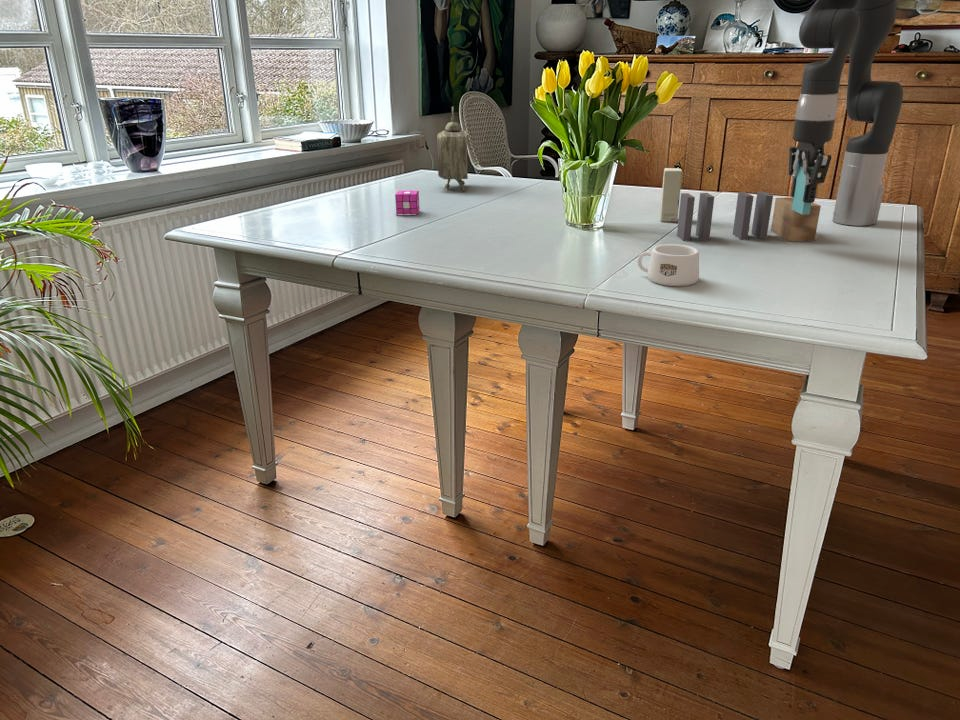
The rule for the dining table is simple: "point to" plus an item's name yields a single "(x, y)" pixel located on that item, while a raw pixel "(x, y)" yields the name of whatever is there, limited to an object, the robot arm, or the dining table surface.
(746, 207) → the domino
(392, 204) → the dining table surface
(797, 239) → the end block
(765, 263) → the dining table surface
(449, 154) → the tabletop clock
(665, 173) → the box
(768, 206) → the domino
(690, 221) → the domino
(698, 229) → the domino
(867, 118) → the robot arm
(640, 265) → the mug
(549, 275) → the dining table surface
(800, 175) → the domino
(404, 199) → the puzzle toy
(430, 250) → the dining table surface
